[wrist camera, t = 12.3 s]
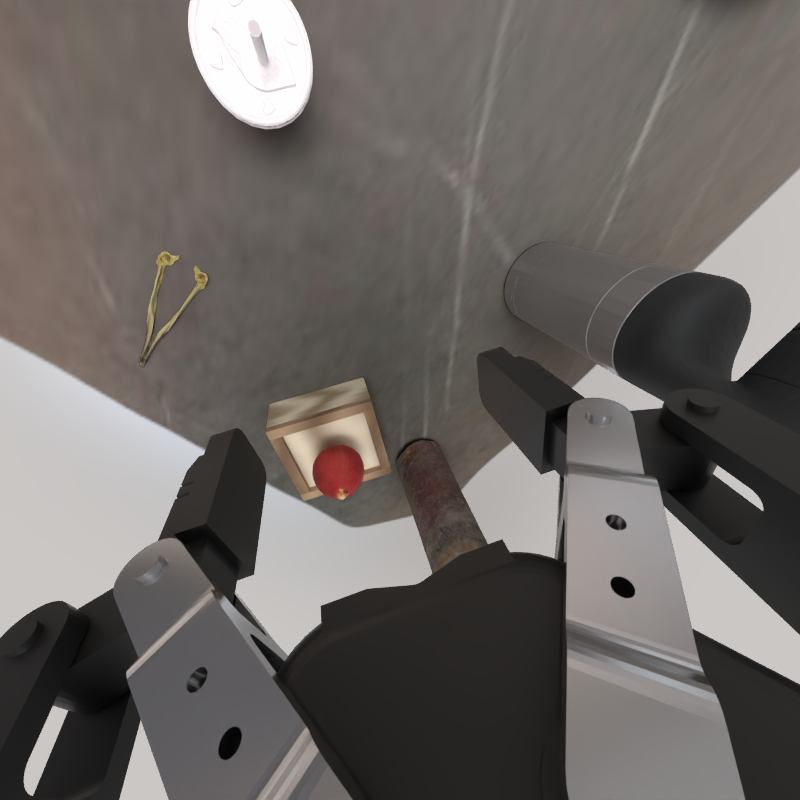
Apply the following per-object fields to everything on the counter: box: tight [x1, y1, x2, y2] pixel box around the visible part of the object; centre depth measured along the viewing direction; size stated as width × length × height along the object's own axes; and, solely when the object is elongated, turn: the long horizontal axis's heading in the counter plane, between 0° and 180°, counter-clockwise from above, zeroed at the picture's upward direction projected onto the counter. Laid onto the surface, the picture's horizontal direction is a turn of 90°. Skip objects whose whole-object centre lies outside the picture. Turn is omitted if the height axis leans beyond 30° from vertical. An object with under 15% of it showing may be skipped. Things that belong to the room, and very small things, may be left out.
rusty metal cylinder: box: [397, 440, 488, 574], centre depth 43 cm, size 8×7×20 cm
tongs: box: [138, 251, 208, 368], centre depth 32 cm, size 4×13×2 cm, turn 148°
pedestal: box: [265, 377, 392, 501], centre depth 42 cm, size 12×12×6 cm
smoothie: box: [188, 0, 313, 129], centre depth 20 cm, size 6×6×14 cm
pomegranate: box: [312, 445, 364, 500], centre depth 37 cm, size 6×6×8 cm
